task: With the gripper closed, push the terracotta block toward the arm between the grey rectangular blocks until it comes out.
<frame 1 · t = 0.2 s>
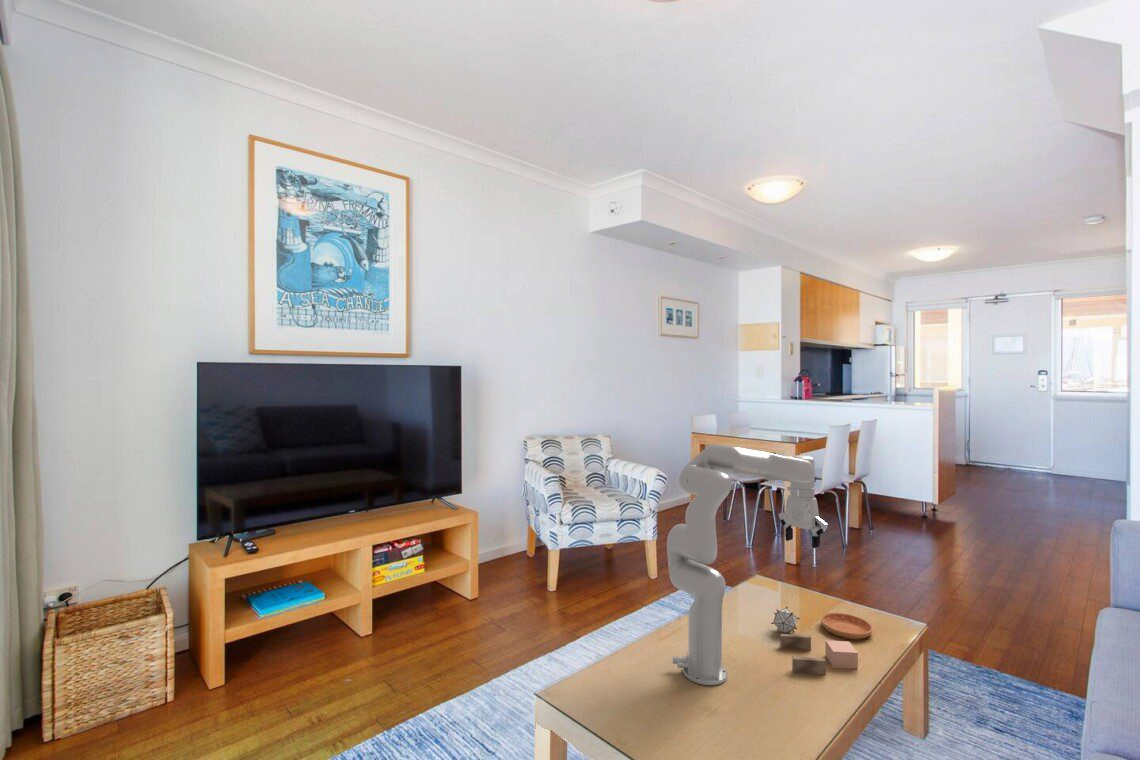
hand: (802, 543, 187), 31 cm above the table, tool pointing down, fingers open, 9 cm apart
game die: (785, 633, 190), on the table
saucer: (846, 631, 191), on the table
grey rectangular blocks: (801, 659, 172), on the table
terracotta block: (841, 662, 171), on the table
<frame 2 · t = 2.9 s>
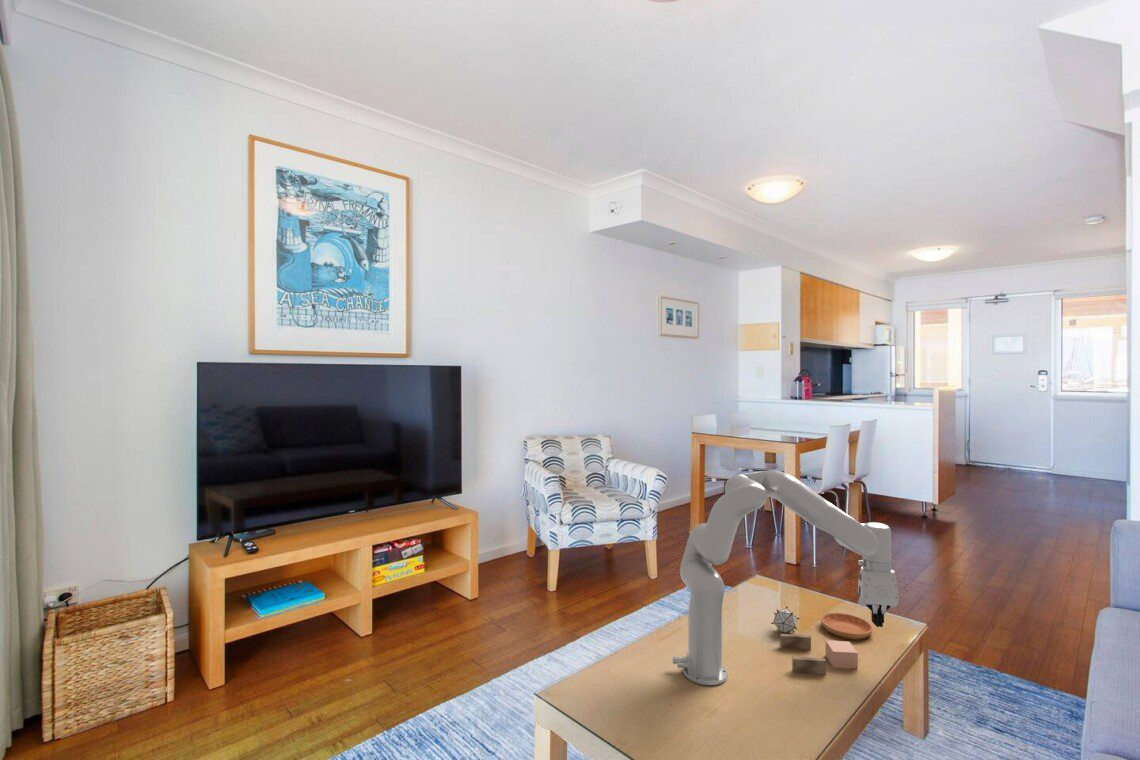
hand: (877, 624, 169), 12 cm above the table, tool pointing down, fingers closed
nothing on the table moved.
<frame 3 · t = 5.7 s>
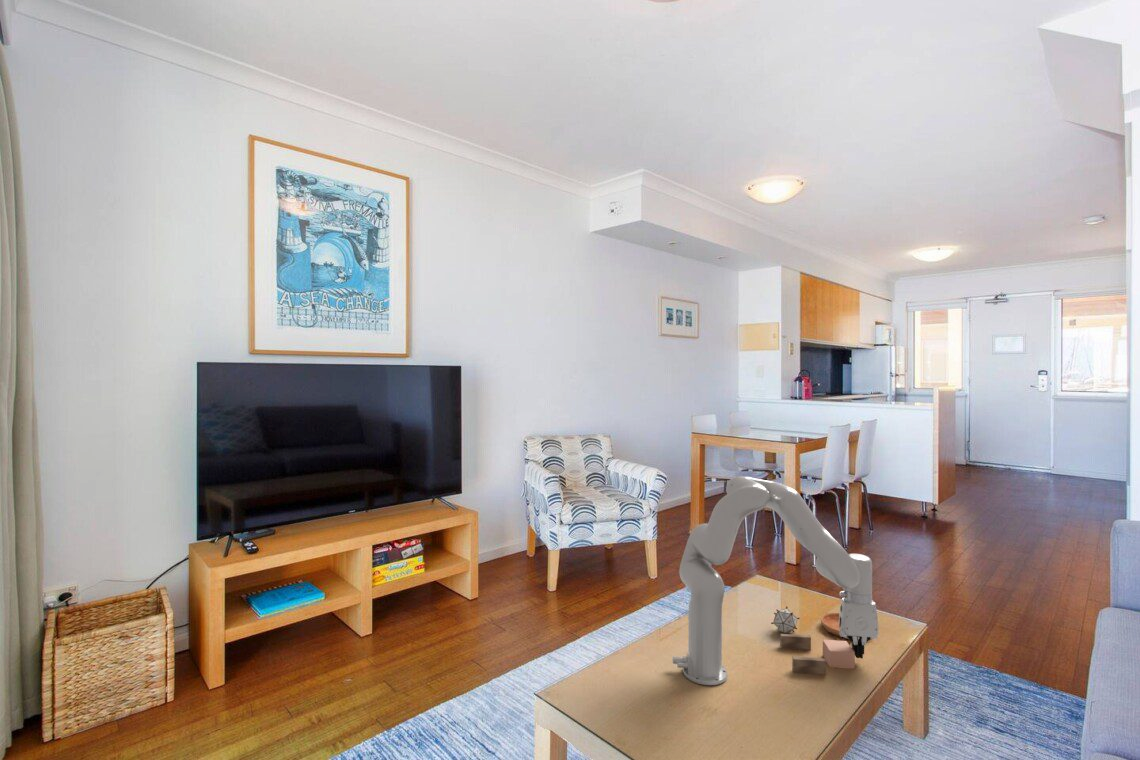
hand: (858, 656, 170), 2 cm above the table, tool pointing down, fingers closed
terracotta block: (838, 662, 171), on the table, touching gripper
everything else where it was.
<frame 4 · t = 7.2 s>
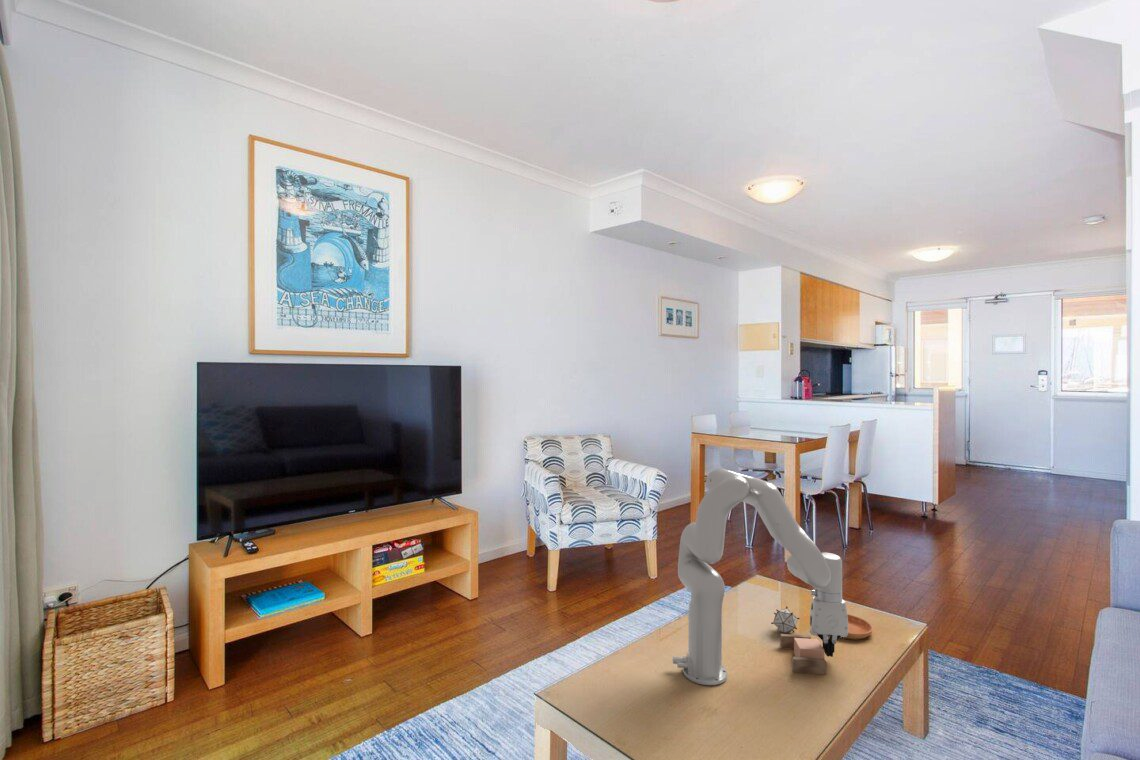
hand: (828, 654, 171), 2 cm above the table, tool pointing down, fingers closed
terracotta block: (808, 659, 172), on the table, touching gripper
everything else where it was.
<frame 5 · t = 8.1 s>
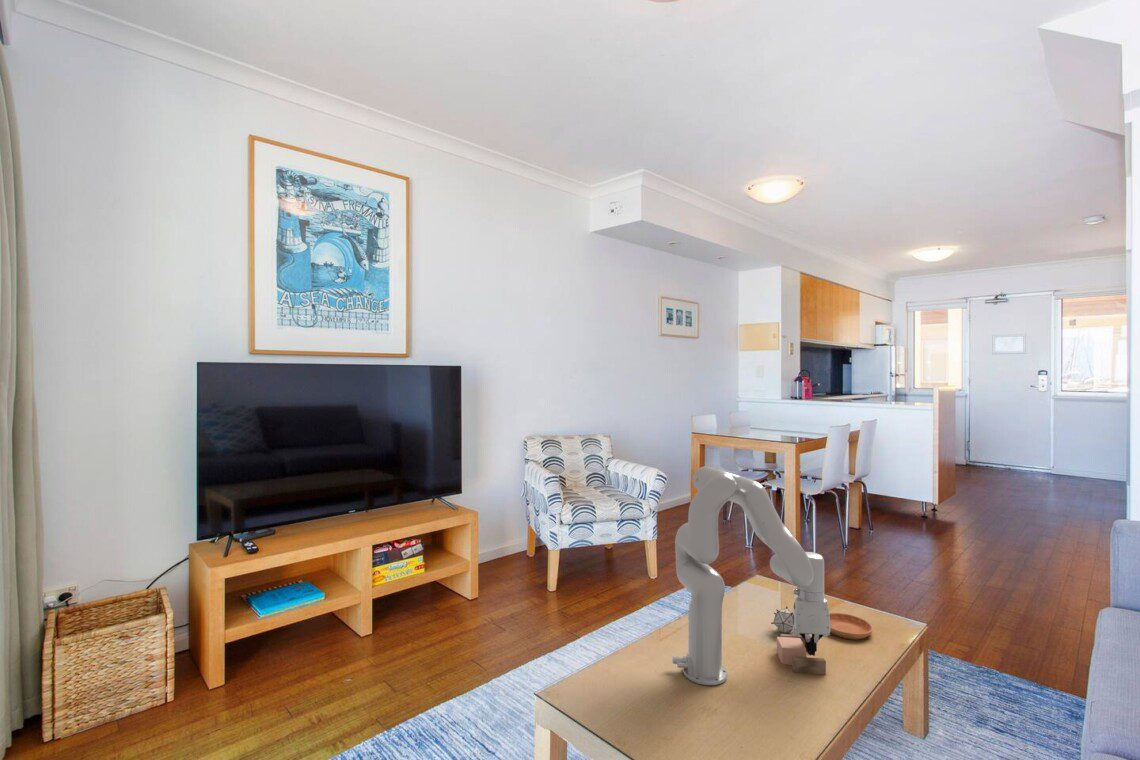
hand: (810, 653, 172), 2 cm above the table, tool pointing down, fingers closed
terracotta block: (791, 658, 173), on the table
everything else where it was.
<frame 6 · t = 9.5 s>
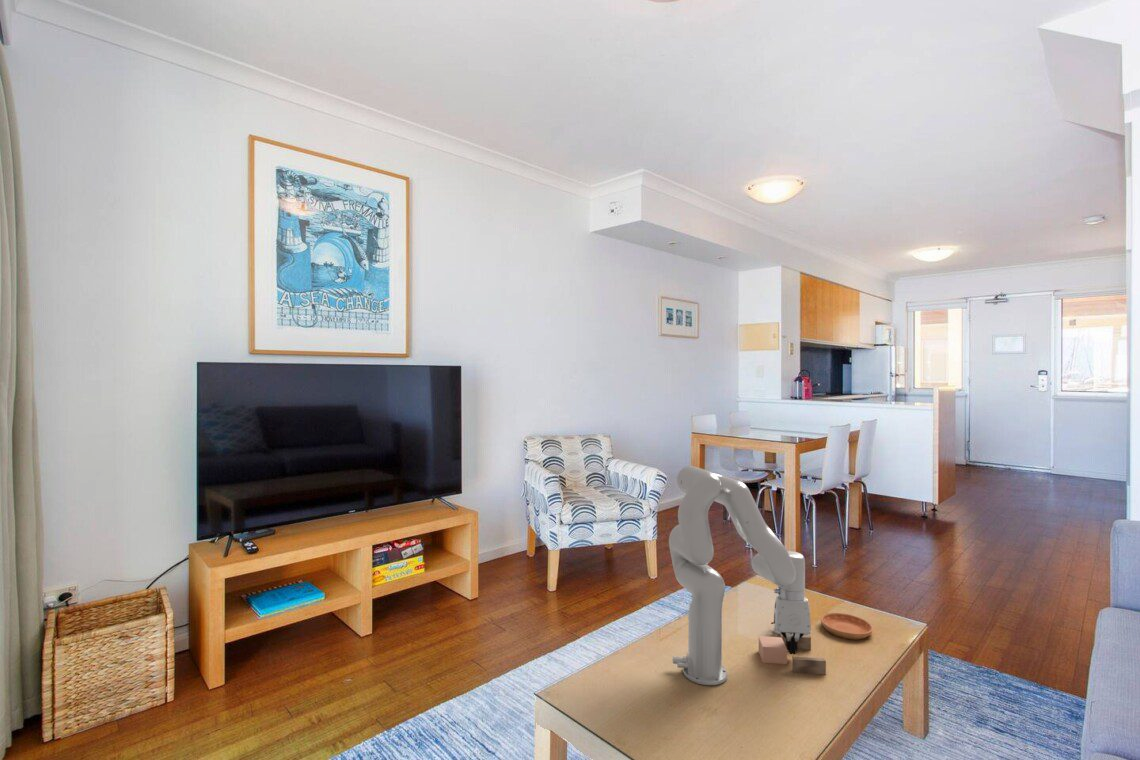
hand: (791, 652, 172), 2 cm above the table, tool pointing down, fingers closed
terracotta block: (772, 658, 174), on the table
everything else where it was.
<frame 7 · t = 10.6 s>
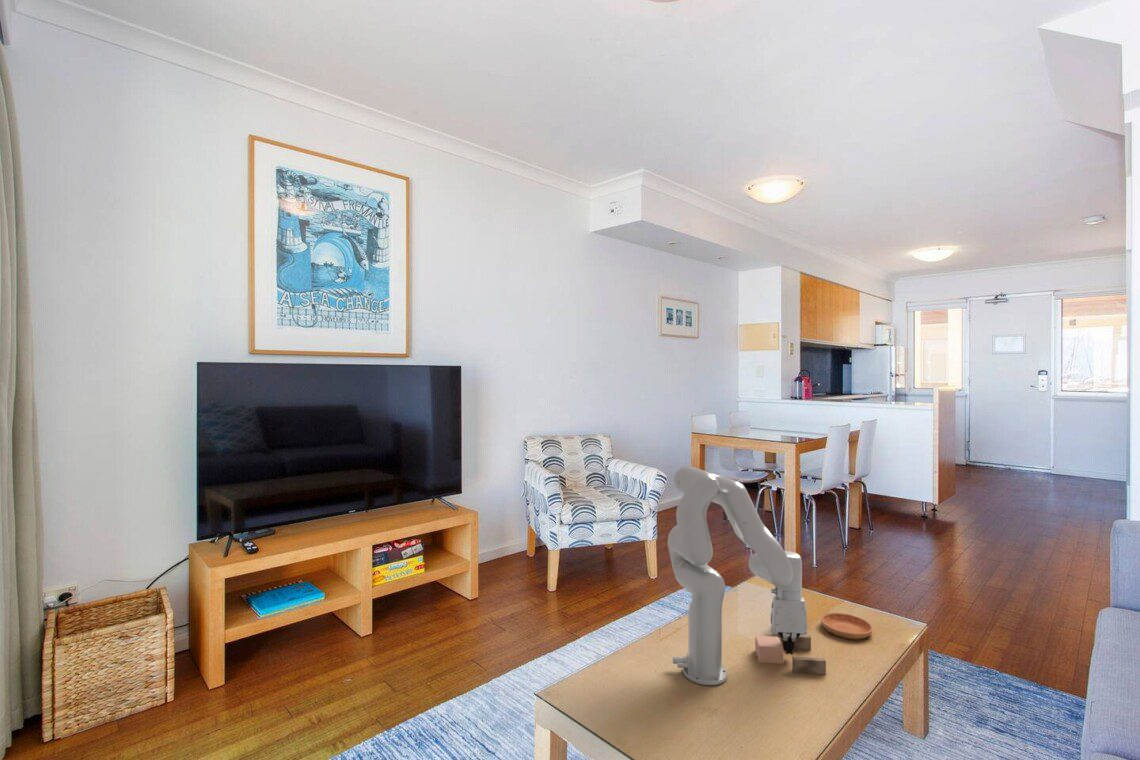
hand: (788, 652, 172), 2 cm above the table, tool pointing down, fingers closed
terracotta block: (768, 657, 174), on the table
everything else where it was.
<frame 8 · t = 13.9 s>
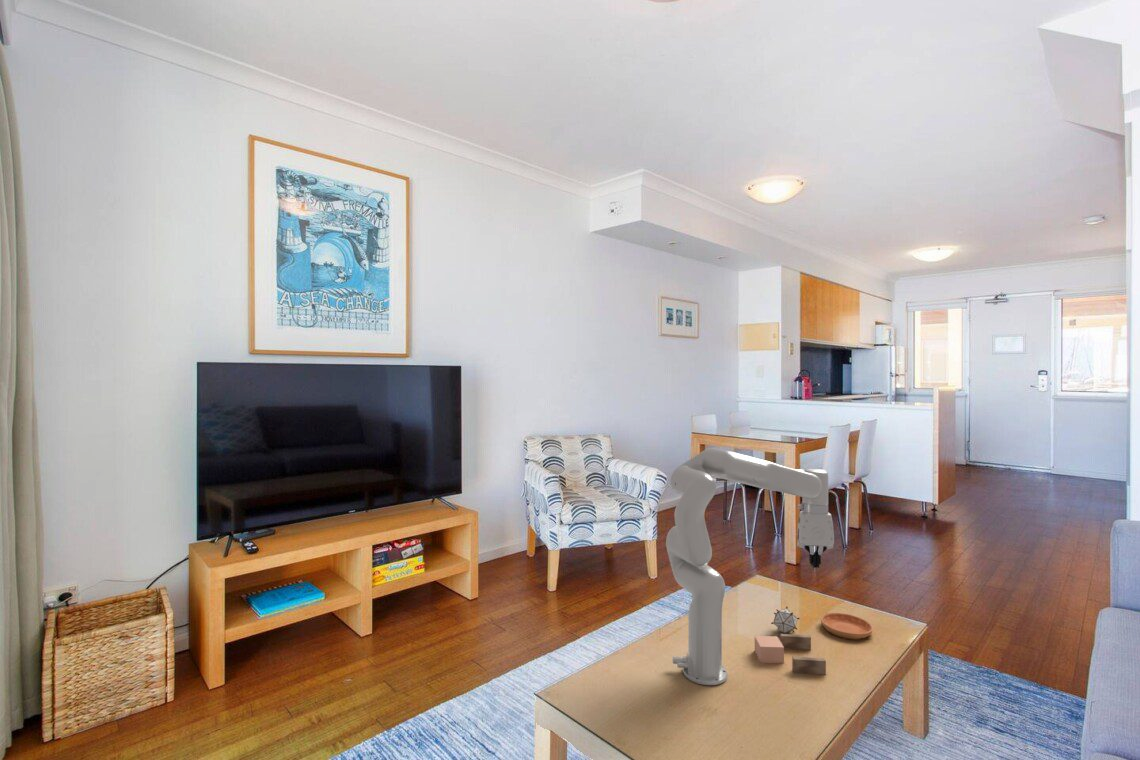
hand: (814, 566, 177), 27 cm above the table, tool pointing down, fingers closed
nothing on the table moved.
at the end: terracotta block inside the target area (3.6 cm from its centre), on the table; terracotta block tilted 0° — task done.
